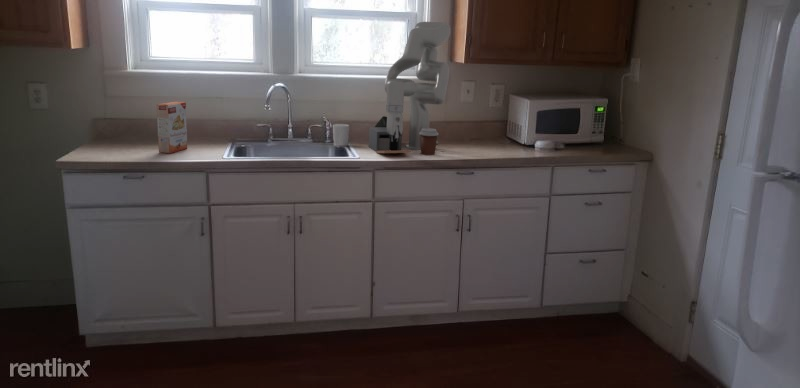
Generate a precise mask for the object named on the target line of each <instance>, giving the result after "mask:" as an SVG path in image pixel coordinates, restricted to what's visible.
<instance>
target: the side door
mask: <svg viewBox="0 0 800 388" xmlns="http://www.w3.org/2000/svg"><path fill="white" fill-rule="evenodd" d="M412 151H413V150H412V149H407V150H405V149H403V150H402V149H401V150H394V151H391V150H379V151H377V153H376V154H405V153H407V154H408V153H409V154H412Z"/></svg>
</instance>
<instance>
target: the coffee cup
mask: <svg viewBox="0 0 800 388" xmlns="http://www.w3.org/2000/svg"><path fill="white" fill-rule="evenodd" d="M439 134H440V133H439V132H438V129H436V128H430V127H429V128H423V129H421V132H419V135H420V139H421V150H420V154H421V155H422V156H423V155H424V156H435V154H436V148H437V145H436V142H437V141H438V137H439Z"/></svg>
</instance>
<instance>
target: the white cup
mask: <svg viewBox="0 0 800 388" xmlns="http://www.w3.org/2000/svg"><path fill="white" fill-rule="evenodd" d="M332 135H333V136H332V138H333V139H332V140H333V146H334V147H344V146H346V147H348V146H349V135H350V125H349V124H346V123H345V124H344V123H335V124H332Z"/></svg>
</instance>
